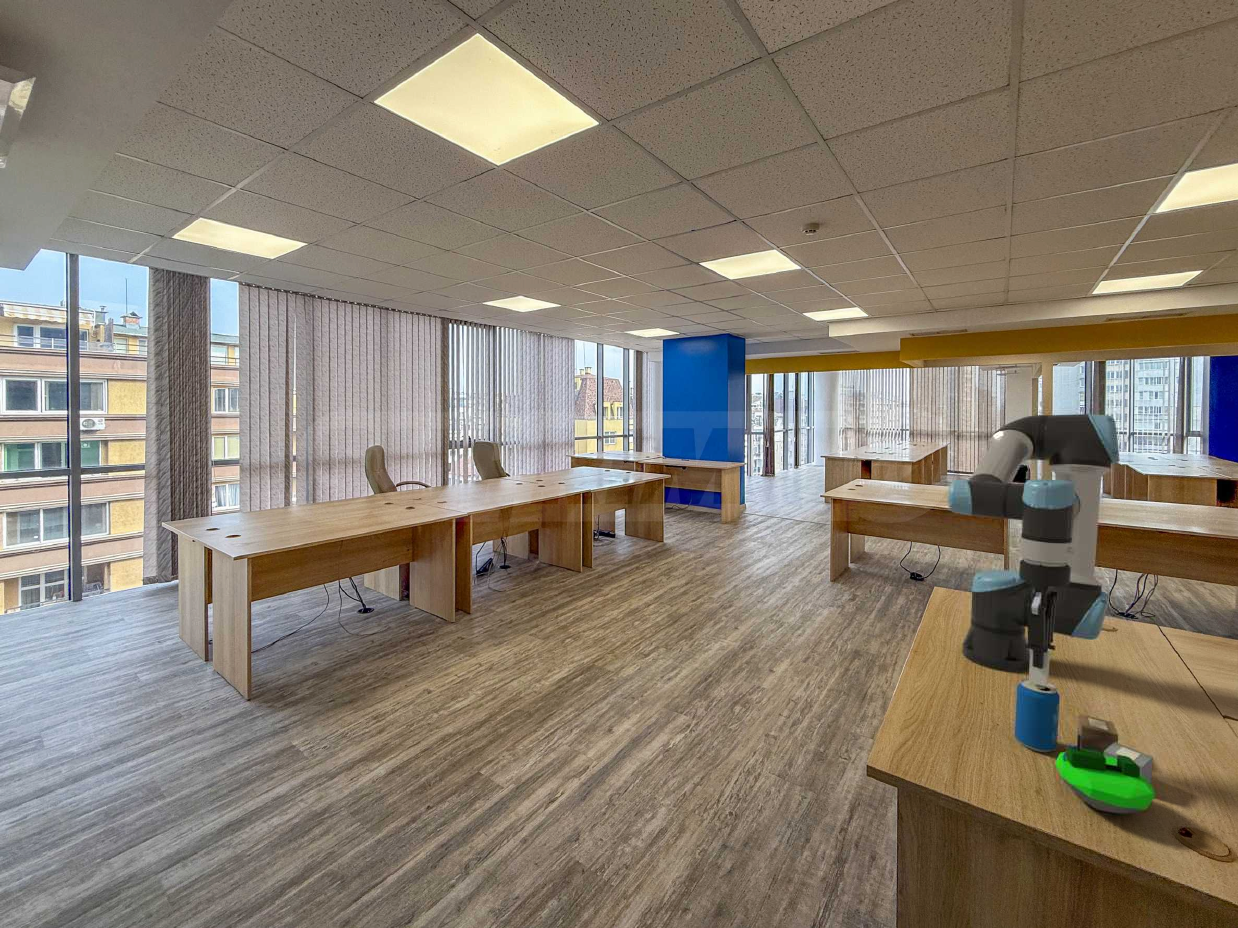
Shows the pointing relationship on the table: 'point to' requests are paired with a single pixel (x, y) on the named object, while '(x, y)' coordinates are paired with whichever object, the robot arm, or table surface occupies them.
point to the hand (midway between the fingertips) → (1038, 681)
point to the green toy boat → (1105, 780)
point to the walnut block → (1096, 733)
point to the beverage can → (1037, 715)
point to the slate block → (1138, 757)
